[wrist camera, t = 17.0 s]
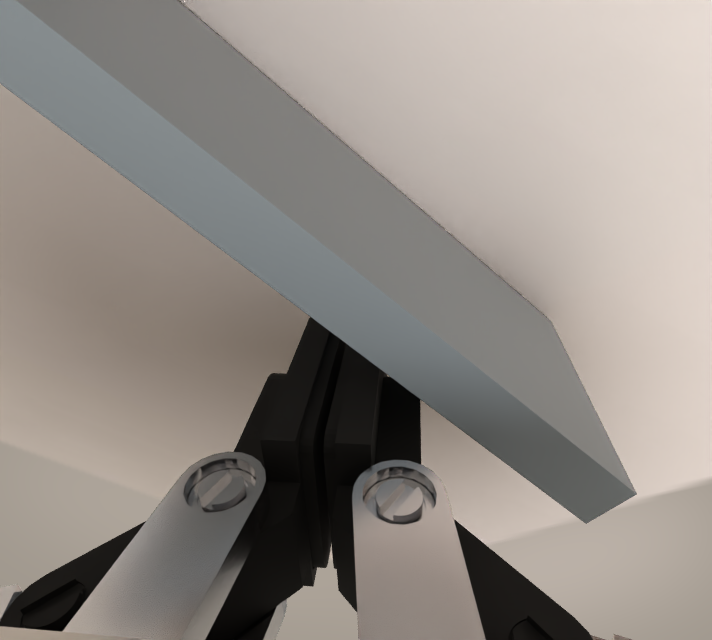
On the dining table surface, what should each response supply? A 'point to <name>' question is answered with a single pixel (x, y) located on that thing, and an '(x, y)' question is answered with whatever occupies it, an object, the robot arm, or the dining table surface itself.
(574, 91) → the dining table surface
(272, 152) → the bin gate
